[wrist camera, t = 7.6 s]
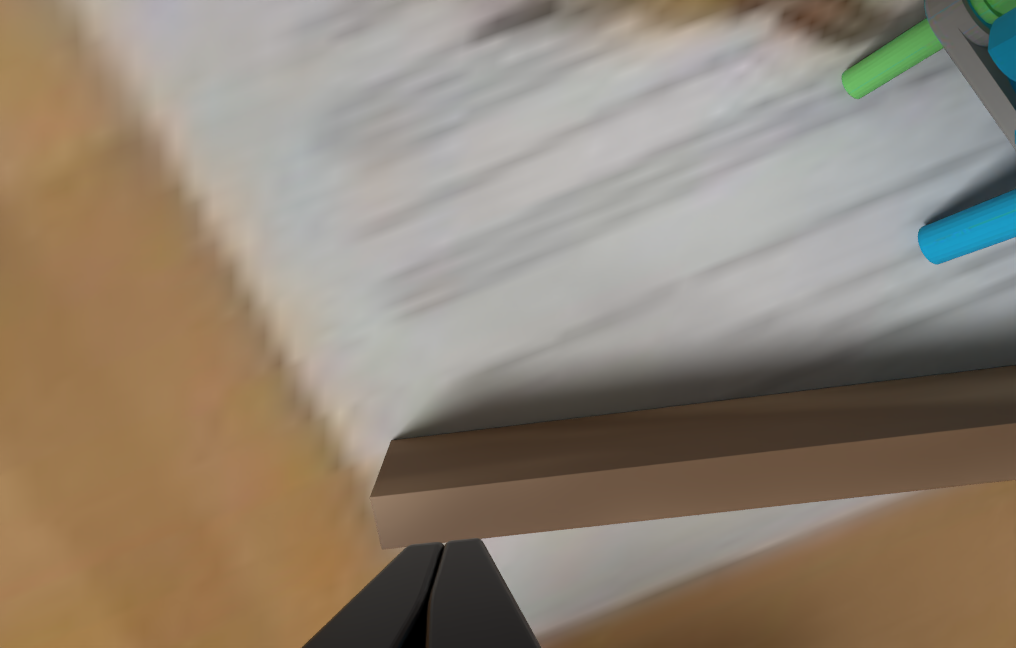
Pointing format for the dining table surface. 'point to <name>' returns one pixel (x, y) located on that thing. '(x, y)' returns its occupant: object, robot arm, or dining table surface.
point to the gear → (995, 79)
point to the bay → (700, 458)
